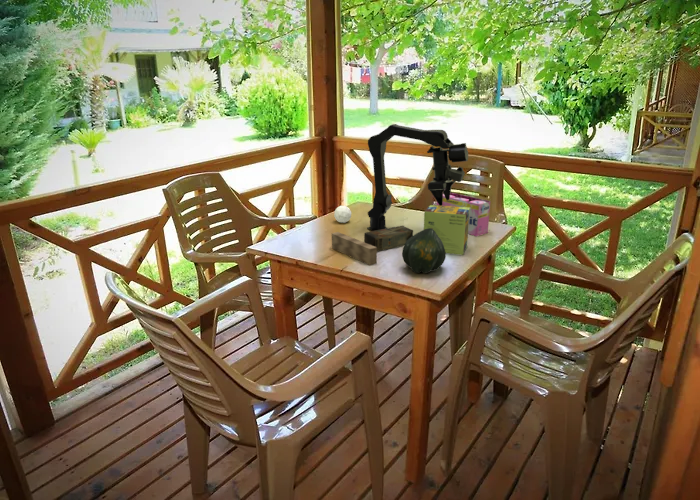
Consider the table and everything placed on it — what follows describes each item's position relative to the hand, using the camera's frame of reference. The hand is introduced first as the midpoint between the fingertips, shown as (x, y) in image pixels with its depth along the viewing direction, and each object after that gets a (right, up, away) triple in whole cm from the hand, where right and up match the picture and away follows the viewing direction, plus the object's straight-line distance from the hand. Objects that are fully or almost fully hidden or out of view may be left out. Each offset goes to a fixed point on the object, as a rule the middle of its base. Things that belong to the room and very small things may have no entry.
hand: (444, 202), depth 198 cm
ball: (-41, -7, +26) cm, 49 cm away
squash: (-12, -26, -27) cm, 39 cm away
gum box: (+10, -10, +15) cm, 21 cm away
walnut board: (-36, -21, -14) cm, 44 cm away
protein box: (-1, -19, -8) cm, 20 cm away
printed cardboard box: (-22, -17, -4) cm, 29 cm away
